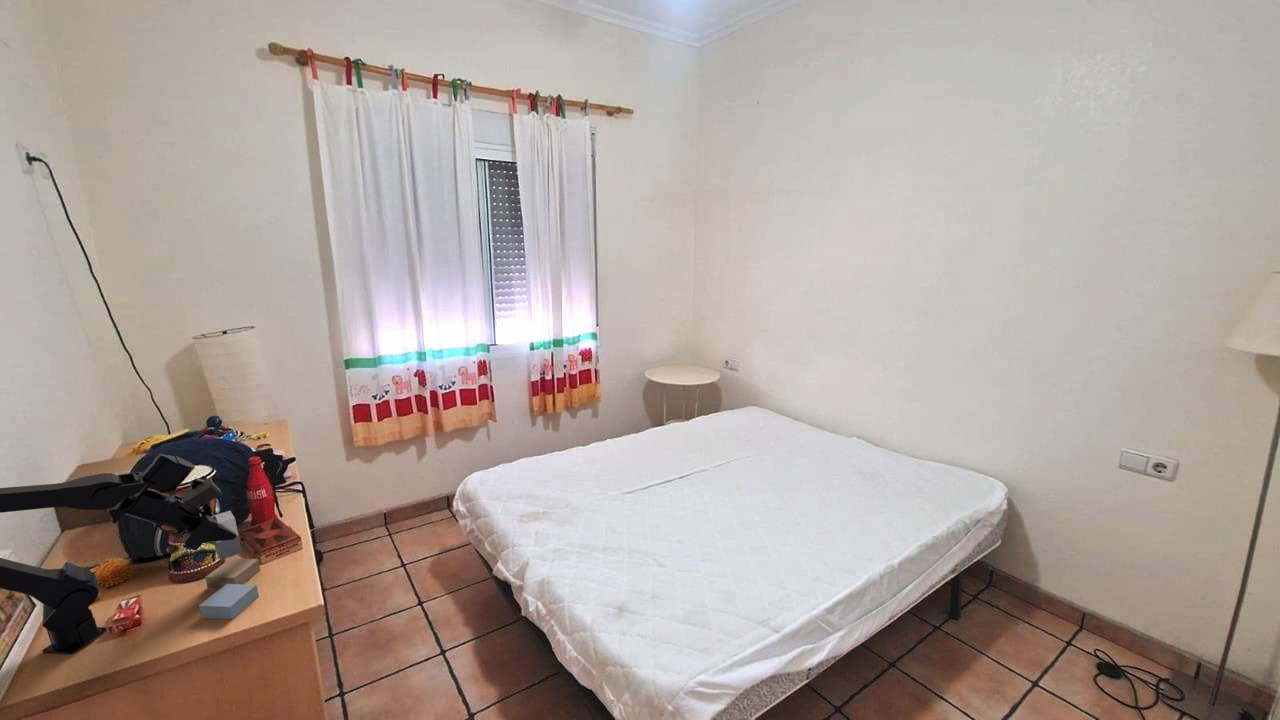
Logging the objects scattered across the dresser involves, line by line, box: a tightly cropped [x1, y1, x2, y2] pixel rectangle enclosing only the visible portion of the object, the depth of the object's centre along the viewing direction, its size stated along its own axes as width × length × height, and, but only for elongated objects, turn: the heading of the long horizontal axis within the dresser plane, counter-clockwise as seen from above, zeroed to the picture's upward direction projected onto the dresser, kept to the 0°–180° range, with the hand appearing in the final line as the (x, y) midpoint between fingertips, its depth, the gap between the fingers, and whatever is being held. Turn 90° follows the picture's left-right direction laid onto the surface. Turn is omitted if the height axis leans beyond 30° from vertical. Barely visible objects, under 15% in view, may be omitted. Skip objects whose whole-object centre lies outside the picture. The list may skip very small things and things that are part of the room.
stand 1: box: [204, 557, 261, 590], centre depth 119 cm, size 7×7×3 cm
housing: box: [211, 510, 243, 561], centre depth 117 cm, size 4×5×9 cm
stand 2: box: [198, 583, 260, 620], centre depth 110 cm, size 7×7×3 cm
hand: (232, 532), depth 118 cm, fingers closed on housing, 5 cm apart
